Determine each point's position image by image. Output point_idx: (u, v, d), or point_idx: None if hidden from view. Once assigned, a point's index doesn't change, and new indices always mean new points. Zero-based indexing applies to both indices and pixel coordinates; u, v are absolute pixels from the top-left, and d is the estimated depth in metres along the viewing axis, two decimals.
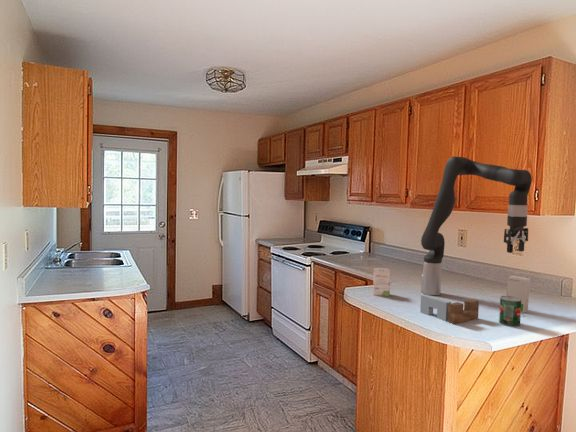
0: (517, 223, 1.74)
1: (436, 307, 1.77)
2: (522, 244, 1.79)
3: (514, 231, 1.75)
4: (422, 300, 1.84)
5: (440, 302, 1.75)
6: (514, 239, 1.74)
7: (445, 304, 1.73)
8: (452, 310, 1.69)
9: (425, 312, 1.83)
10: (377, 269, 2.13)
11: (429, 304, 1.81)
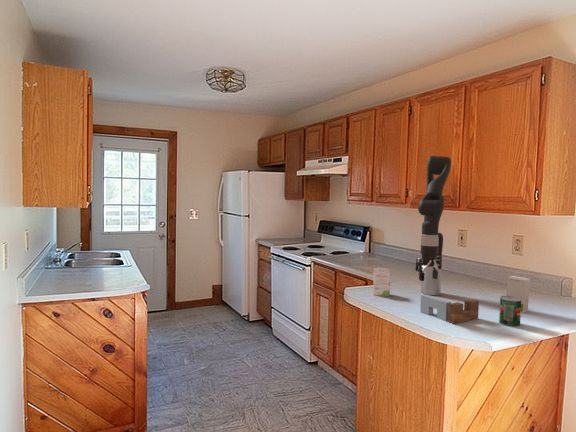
0: (428, 252, 1.79)
1: (436, 307, 1.77)
2: (435, 272, 1.84)
3: (425, 260, 1.80)
4: (422, 300, 1.84)
5: (440, 302, 1.75)
6: (425, 268, 1.79)
7: (445, 304, 1.73)
8: (452, 310, 1.69)
9: (425, 312, 1.83)
10: (377, 269, 2.13)
11: (429, 304, 1.81)
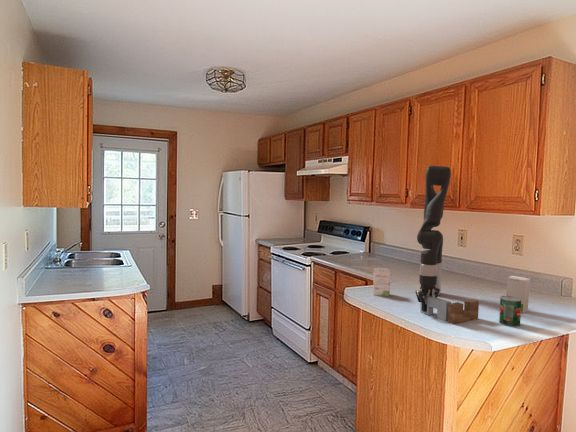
0: (427, 282, 1.79)
1: (436, 307, 1.77)
2: None
3: (424, 292, 1.81)
4: None
5: (440, 302, 1.75)
6: None
7: (445, 304, 1.73)
8: (452, 310, 1.69)
9: (425, 312, 1.83)
10: (377, 269, 2.13)
11: (429, 304, 1.81)
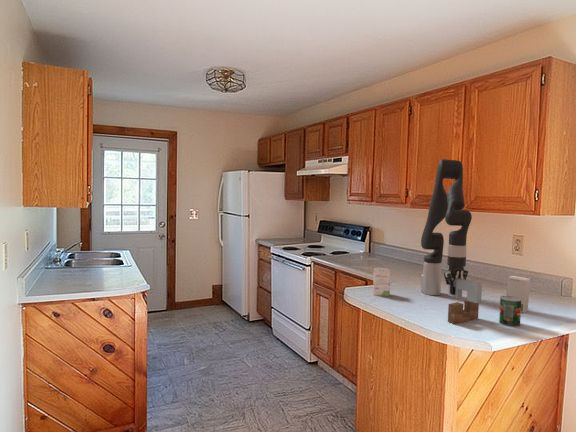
0: (455, 264, 1.73)
1: (466, 289, 1.71)
2: None
3: (453, 273, 1.74)
4: None
5: (470, 284, 1.69)
6: (455, 281, 1.75)
7: (476, 285, 1.67)
8: (452, 310, 1.69)
9: (454, 295, 1.76)
10: (377, 269, 2.13)
11: (458, 286, 1.74)
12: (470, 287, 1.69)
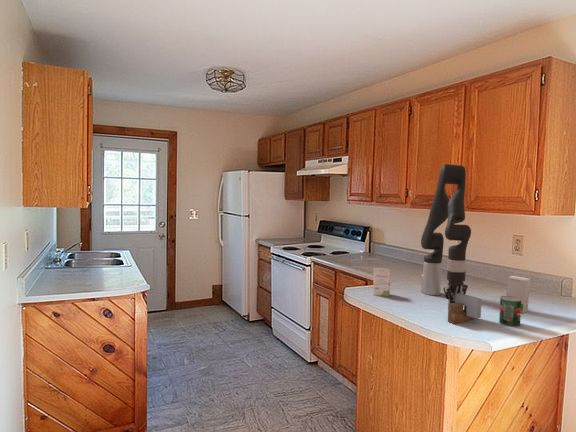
0: (455, 278, 1.74)
1: (465, 304, 1.71)
2: None
3: (452, 288, 1.75)
4: None
5: (470, 299, 1.69)
6: (455, 295, 1.75)
7: (475, 301, 1.67)
8: (452, 310, 1.69)
9: None
10: (377, 269, 2.13)
11: (457, 301, 1.75)
12: (470, 302, 1.69)
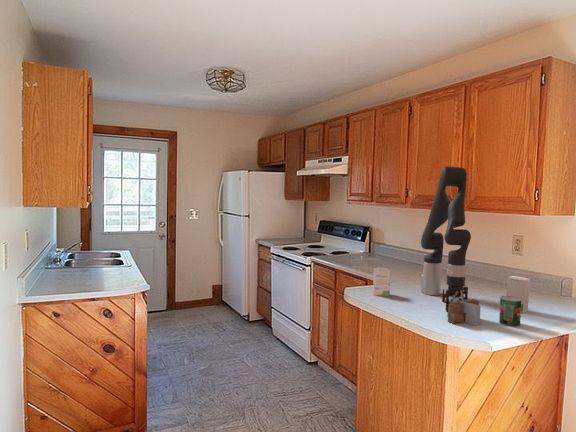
0: (455, 283, 1.74)
1: (464, 311, 1.72)
2: None
3: (452, 291, 1.75)
4: None
5: (469, 306, 1.70)
6: (452, 299, 1.74)
7: (474, 308, 1.67)
8: (452, 310, 1.69)
9: None
10: (377, 269, 2.13)
11: None
12: (469, 309, 1.70)
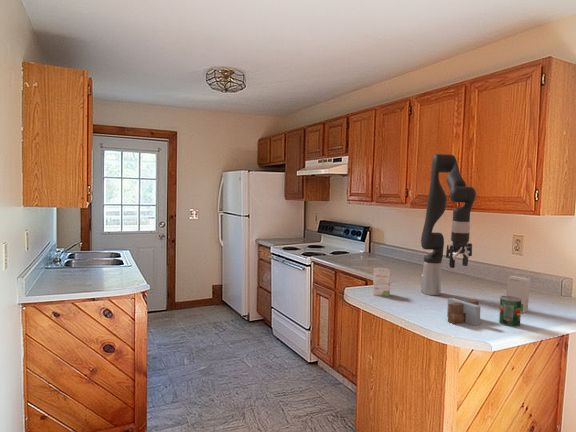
0: (459, 239, 1.77)
1: (464, 311, 1.72)
2: (465, 259, 1.83)
3: (456, 247, 1.78)
4: None
5: (469, 306, 1.70)
6: (456, 255, 1.78)
7: (474, 308, 1.67)
8: (452, 310, 1.69)
9: None
10: (377, 269, 2.13)
11: None
12: (469, 309, 1.70)
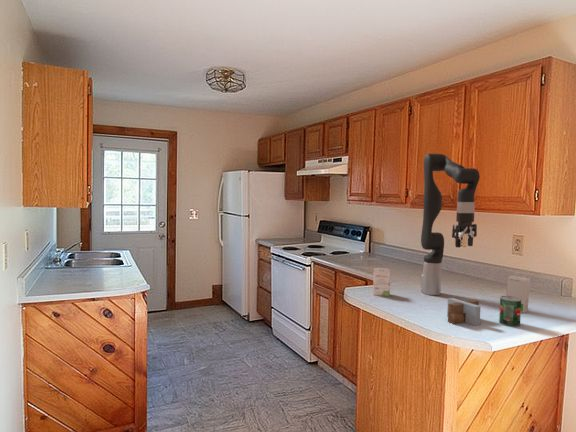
0: (464, 219, 1.82)
1: (464, 311, 1.72)
2: (471, 239, 1.88)
3: (462, 227, 1.83)
4: None
5: (469, 306, 1.70)
6: (462, 234, 1.83)
7: (474, 308, 1.67)
8: (452, 310, 1.69)
9: None
10: (377, 269, 2.13)
11: None
12: (469, 309, 1.70)
